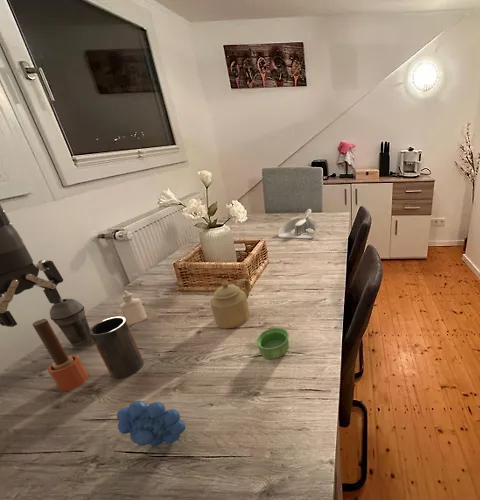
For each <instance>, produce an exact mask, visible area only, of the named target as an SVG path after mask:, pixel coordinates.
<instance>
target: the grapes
mask: <svg viewBox="0 0 480 500" xmlns="http://www.w3.org/2000/svg"><path fill="white" fill-rule="evenodd" d="M116 419H117V420H118V424H117V430H118V432H119V433H120V434H122V435H126V434H129V438H130V439H131V442H133V444H137V446H139V447H142V446H143V447H144V446H147V445H149V446H150V447H157V446H161V445H162V444H163V443H165V444H167V445H168V444H172V443H175V442H177V441H178V440H179V438H180V434H183V433H184V432H185V430H186V427H187V426H186V423H185V422H184V420H182V419H181V415H180V413H179V410H177V409H175V408H172V409H171V408H170V409H167V410H166V406H165V405H164V404H163V402H162V401H154V402H151V403H149V404H148V405H147V403H146V402H145V401H144V400H137V401H133V402H132V403H130V404H129V406H128V407H123V408H121V409H119V410H117V413H116Z"/></svg>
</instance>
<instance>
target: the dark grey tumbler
mask: <svg viewBox="0 0 480 500" xmlns="http://www.w3.org/2000/svg"><path fill="white" fill-rule="evenodd" d="M89 333H90V335H91V337H92V341H93V343H94V345H95V347H96V350H97V351H98V354H99V356H100V357H101V360H102V361H103V363H104V366H105V367H106V369H107V372H108V373H109V375H110V378H111V379H113V380H123V379H126V378H129V377H131V376H133V375H135V374H136V373H137V372H139V371H140V370H141V369H142V367H143V366H144V363H145V362H144V358H143V357H142V354H141V352H140V349H139V346H138V345H137V342H136V339H135V338H134V335H133V333H132V331H131V328H130V325H128V323H127V321H126V319H125V318H124V316H113V317H109V318H106V319H103V320H101V321H99V322H97V323H95V324H94V325H92V327H91V328H90V331H89Z"/></svg>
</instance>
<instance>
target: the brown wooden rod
mask: <svg viewBox="0 0 480 500" xmlns="http://www.w3.org/2000/svg"><path fill="white" fill-rule="evenodd" d="M31 325H32V327H33V329H34V330H35V332H36V333H37V335H38V337H39V338H40V340H41V342H42V344H43V345H44V347H45V349H46V350H47V352H48V354H49V356H50V357H51V359H52V360H53V362H54V363H53V362H52V363H53V365H52V366H53V368H54V369H55V370H59V369H63V368H65V367H67V366H69V365H70V364H72V363H73V362H74V360H73V358H72V356H69V355H68V354H67V352H66V350H65V349H64V347H63V345H62V343H61V342H60V340H59V338H58V336H57V334H56V333H55V331H54V330H53V327H52V326H51V323H50V322H49V320H48V318H41V319H38V320H36V321H34V322H33V323H32V324H31Z"/></svg>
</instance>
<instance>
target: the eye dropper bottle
mask: <svg viewBox="0 0 480 500" xmlns="http://www.w3.org/2000/svg"><path fill="white" fill-rule="evenodd" d="M121 297H122V300H123V302H122V303H120V305H119V309H120V311H121V314H122V317H124V318H125V319H126V321H127V323H128V326H131V325H134V324H137V323H140V322H141V321H142V322H144V321H145V320H146V319H147V318H148V316H147V313H146V310H145V308H144V305H143V303H142V300H141V299H140V298H138V297H135V298H134V297H133V294H132V293H131V292H128V291H127V290H124V291H123V295H122V296H121Z"/></svg>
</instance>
